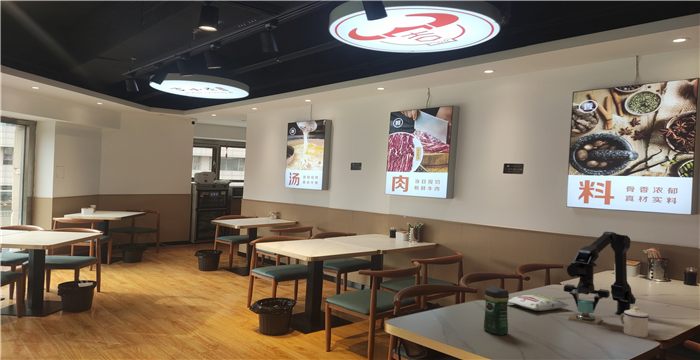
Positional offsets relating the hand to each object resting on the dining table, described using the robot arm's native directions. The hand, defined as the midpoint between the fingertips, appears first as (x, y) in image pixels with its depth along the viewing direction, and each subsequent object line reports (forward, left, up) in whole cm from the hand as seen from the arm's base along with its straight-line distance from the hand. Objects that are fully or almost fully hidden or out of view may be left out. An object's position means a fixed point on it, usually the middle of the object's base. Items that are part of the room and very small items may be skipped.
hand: (585, 309), depth 216 cm
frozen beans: (-6, -24, -6) cm, 26 cm away
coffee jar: (+50, -24, -5) cm, 56 cm away
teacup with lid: (+8, +20, -5) cm, 22 cm away
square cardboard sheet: (0, 0, -5) cm, 5 cm away
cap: (0, 0, -1) cm, 1 cm away
